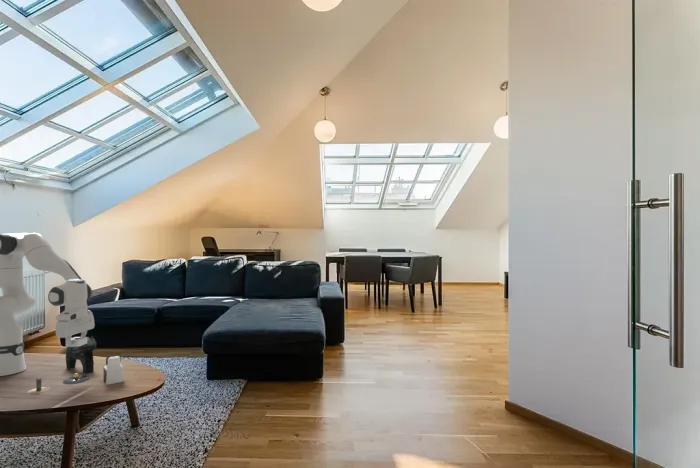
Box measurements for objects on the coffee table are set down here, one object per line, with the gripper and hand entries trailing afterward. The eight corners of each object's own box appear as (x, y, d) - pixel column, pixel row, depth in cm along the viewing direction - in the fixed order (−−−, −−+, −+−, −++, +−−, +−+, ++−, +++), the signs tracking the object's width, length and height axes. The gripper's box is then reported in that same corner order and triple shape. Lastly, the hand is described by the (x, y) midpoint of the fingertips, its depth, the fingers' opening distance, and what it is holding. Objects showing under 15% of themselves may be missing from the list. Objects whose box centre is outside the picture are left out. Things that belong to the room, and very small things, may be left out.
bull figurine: (97, 371, 204) (97, 332, 204) (84, 375, 198) (84, 334, 198) (74, 366, 212) (74, 328, 213) (61, 369, 207) (61, 331, 207)
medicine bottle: (103, 381, 190) (103, 355, 190) (120, 377, 194) (120, 353, 194) (106, 385, 184) (106, 359, 184) (123, 381, 189) (123, 356, 189)
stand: (22, 395, 172) (22, 381, 172) (38, 388, 180) (38, 375, 180) (39, 396, 172) (39, 382, 172) (54, 389, 180) (54, 375, 180)
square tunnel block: (65, 346, 186) (65, 340, 186) (75, 343, 192) (75, 336, 192) (77, 346, 185) (77, 340, 185) (87, 343, 191) (87, 337, 191)
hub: (57, 385, 184) (57, 377, 184) (74, 378, 194) (74, 369, 194) (78, 386, 183) (78, 377, 183) (93, 378, 193) (93, 370, 193)
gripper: (86, 309, 199) (86, 337, 199) (52, 317, 179) (52, 348, 179) (98, 309, 199) (98, 337, 199) (65, 317, 178) (65, 348, 178)
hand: (76, 342), depth 189 cm, fingers closed on square tunnel block, 6 cm apart
